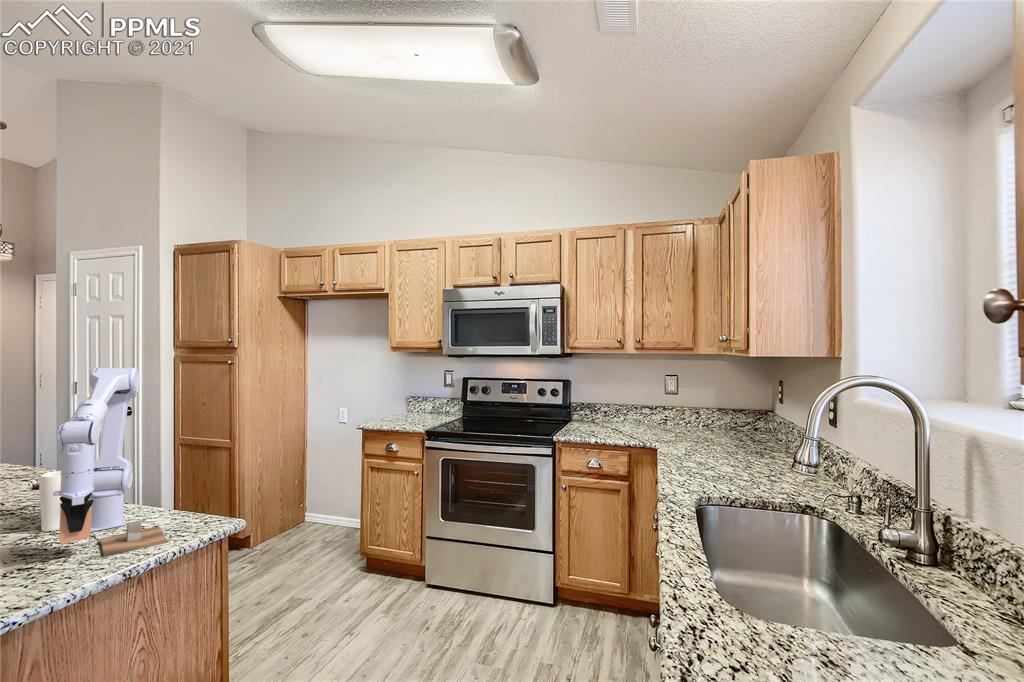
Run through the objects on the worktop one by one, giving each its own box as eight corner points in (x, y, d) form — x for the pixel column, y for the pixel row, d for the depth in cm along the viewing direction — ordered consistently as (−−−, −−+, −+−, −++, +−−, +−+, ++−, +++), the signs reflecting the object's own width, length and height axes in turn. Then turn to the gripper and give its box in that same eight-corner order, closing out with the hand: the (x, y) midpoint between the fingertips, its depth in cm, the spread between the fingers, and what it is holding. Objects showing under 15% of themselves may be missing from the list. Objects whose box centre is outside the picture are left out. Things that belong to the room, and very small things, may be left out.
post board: (100, 541, 116) (100, 522, 116) (158, 529, 124) (159, 511, 125) (104, 556, 107) (104, 536, 108) (166, 542, 116) (167, 523, 116)
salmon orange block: (59, 537, 108) (60, 509, 108) (88, 531, 112) (90, 504, 112) (59, 543, 105) (60, 515, 105) (90, 537, 108) (91, 509, 108)
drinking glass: (30, 534, 119) (33, 477, 120) (48, 525, 126) (51, 470, 126) (61, 532, 121) (64, 476, 121) (78, 523, 128) (80, 469, 128)
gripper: (53, 467, 111) (51, 523, 110) (54, 480, 101) (51, 541, 100) (93, 463, 116) (90, 516, 116) (97, 474, 106) (94, 533, 105)
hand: (75, 528), depth 108 cm, fingers closed on salmon orange block, 5 cm apart
